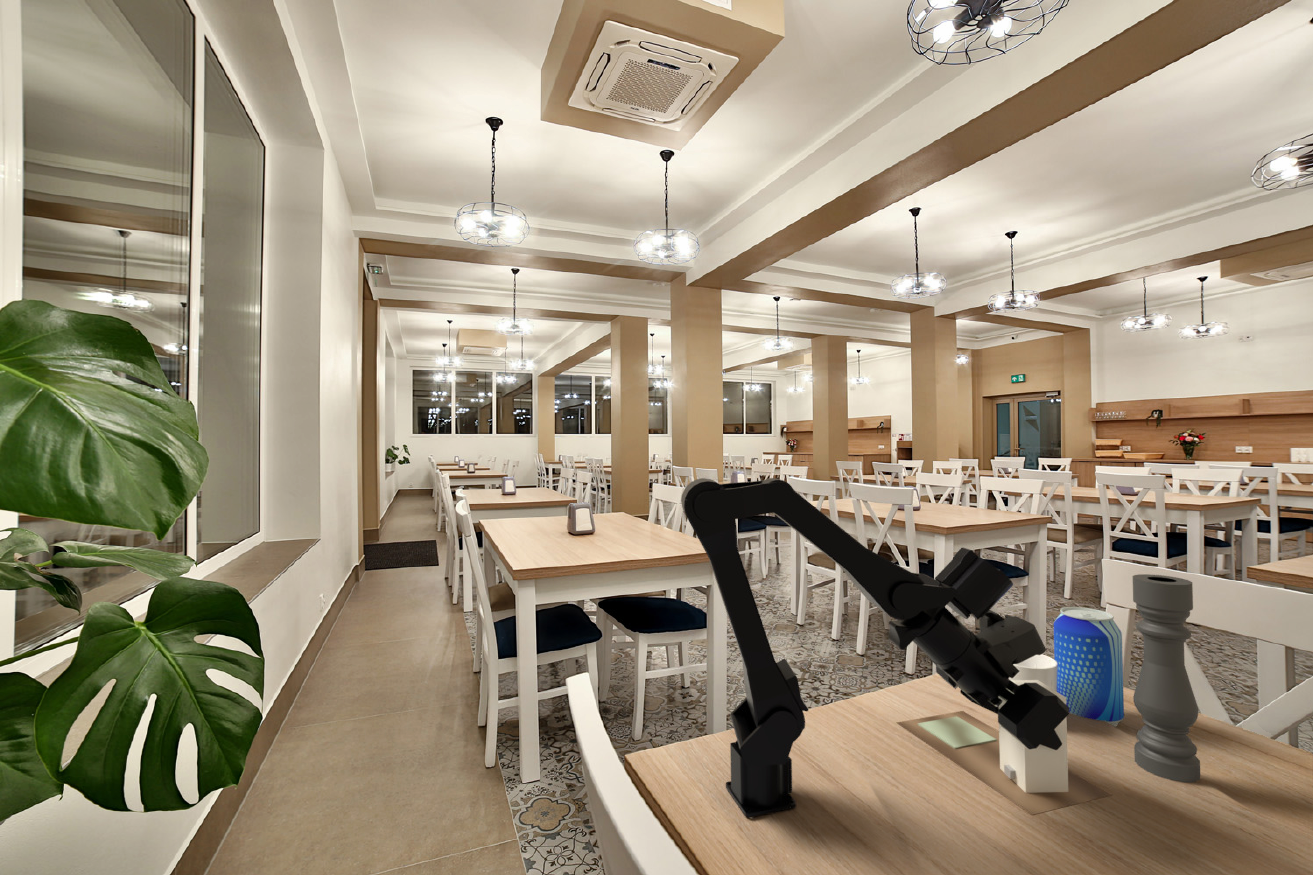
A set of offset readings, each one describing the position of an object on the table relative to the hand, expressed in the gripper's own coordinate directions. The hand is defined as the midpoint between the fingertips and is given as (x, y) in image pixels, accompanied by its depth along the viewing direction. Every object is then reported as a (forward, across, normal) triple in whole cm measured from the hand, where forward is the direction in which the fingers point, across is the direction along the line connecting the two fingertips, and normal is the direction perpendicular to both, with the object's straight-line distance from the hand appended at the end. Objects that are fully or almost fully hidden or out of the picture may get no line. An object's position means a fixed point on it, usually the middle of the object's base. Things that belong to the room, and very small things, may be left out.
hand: (1043, 735), depth 70 cm
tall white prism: (+3, 0, +5) cm, 6 cm away
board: (+3, +6, +7) cm, 9 cm away
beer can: (+19, +18, -9) cm, 28 cm away
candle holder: (+17, +2, -7) cm, 18 cm away
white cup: (+11, +16, -1) cm, 20 cm away
